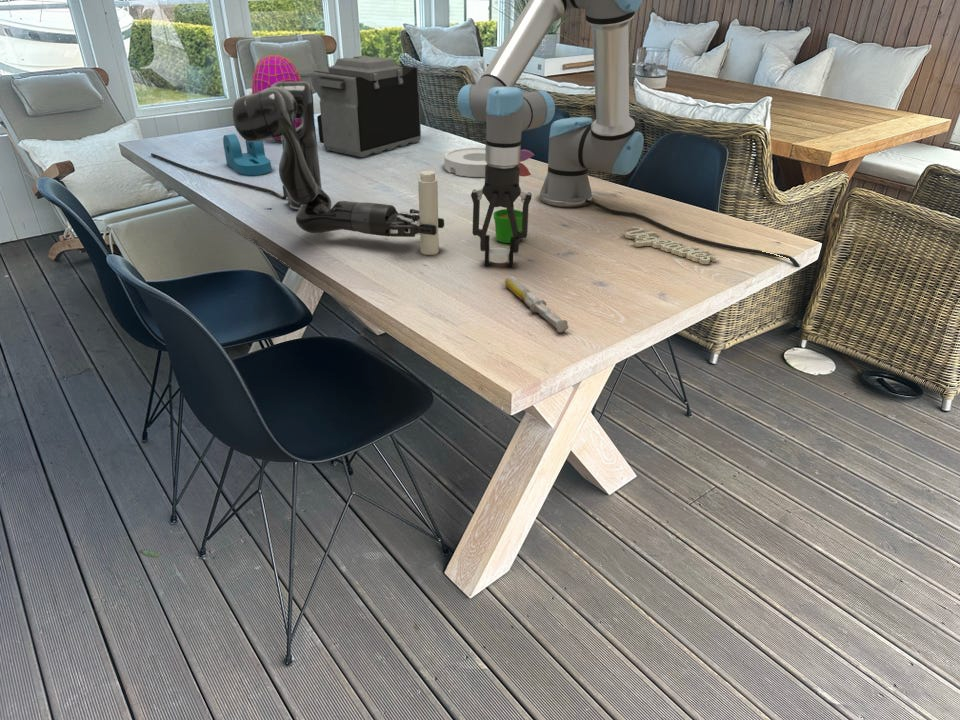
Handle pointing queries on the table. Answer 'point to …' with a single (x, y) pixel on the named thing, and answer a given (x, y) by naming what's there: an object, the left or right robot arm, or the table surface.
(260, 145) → the camera mount
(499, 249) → the lid
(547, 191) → the right robot arm
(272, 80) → the decorative egg
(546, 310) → the syringe
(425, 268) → the table surface
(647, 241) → the decorative sign
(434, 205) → the beige long cylinder
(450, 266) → the table surface
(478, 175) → the white round base
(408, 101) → the portable cooler box
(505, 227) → the potted flower
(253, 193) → the table surface
